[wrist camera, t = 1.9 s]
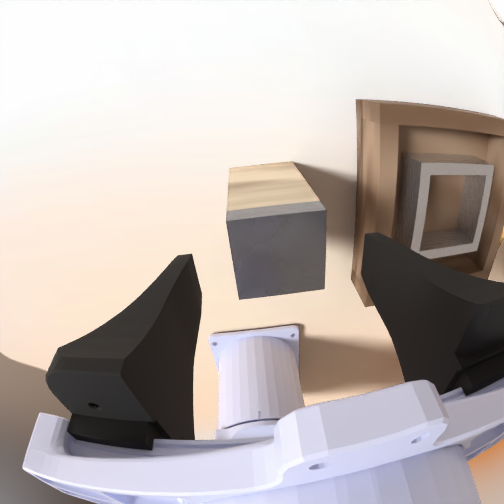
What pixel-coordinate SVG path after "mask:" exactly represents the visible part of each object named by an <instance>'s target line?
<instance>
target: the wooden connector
mask: <svg viewBox="0 0 504 504" xmlns="http://www.w3.org/2000/svg"><path fill="white" fill-rule="evenodd" d="M226 224H227V230H228V236H229V242H230V248H231V254H232V260H233V266H234V272H235V278H236V284H237V290H238V296H239V300H241V299H250V298H258V297H267V296H275V295H283V294H291V293H299V292H306V291H313V290H321V289H324V288H325V263H326V209H325V207H324V206H323V204H322V203H321V201H320V200H319V198H318V197H317V196H316V194H315V193H314V191H313V190H312V189H311V187H310V186H309V184H308V183H307V182H306V180H305V179H304V177H303V176H302V175H301V173H300V172H299V171H298V169H297V168H296V166H295V165H294V164H293V162H281V163H271V164H261V165H252V166H244V167H235V168H230V169H229V183H228V198H227V214H226Z"/></svg>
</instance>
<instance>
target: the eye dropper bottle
mask: <svg viewBox="0 0 504 504" xmlns="http://www.w3.org/2000/svg"><path fill="white" fill-rule="evenodd" d="M488 1H489V3H490V5H491V7H492V8H493V10H494V12H495V14H496V15H497V17H498V19H499V20H500V21H501V22H502V23H504V0H488Z"/></svg>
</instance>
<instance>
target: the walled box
mask: <svg viewBox="0 0 504 504" xmlns="http://www.w3.org/2000/svg"><path fill="white" fill-rule="evenodd" d="M356 112H357V200H356V222H355V238H354V251H353V263H352V274H351V280H352V282H353V284H354V286H355V288H356V290H357V292H358V294H359V296H360V298H361V300H362V302H363V304H364V306H365V307H368V306H374V303H373V301H372V300H371V298H370V296H369V294H368V292H367V289H366V287H365V284H364V281H363V279H362V276H361V266H362V257H363V247H364V236H365V234H366V233H375V232H378V233H381V234H383V235H385V236H387V237H389V238H391V239H393V240H395V241H397V242H398V243H400V244H402V245H404V246H406V247H407V248H409V249H411V250H413V251H415V252H417V253H419V254H421V255H422V256H424V257H426V258H428V259H430V260H432V261H435V262H437V263H439V264H441V265H444V266H446V267H449V268H451V269H453V270H456V271H459V272H462V273H465V274H468V275H471V276H475V277H478V278H482V279H486V280H487V279H488V277H489V274H490V271H491V268H492V265H493V262H494V259H495V256H496V252H497V249H498V246H499V242H500V239H501V235H502V231H503V227H504V119H502V118H499V117H496V116H493V115H489V114H484V113H479V112H474V111H468V110H463V109H457V108H451V107H444V106H436V105H429V104H420V103H410V102H398V101H384V100H361V99H356Z"/></svg>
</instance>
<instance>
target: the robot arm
mask: <svg viewBox="0 0 504 504" xmlns="http://www.w3.org/2000/svg"><path fill="white" fill-rule="evenodd" d="M361 276H362V279H363V281H364V284H365V287H366V289H367V292H368V294H369V296H370V298H371V300H372V301H373V303H374V305H375V307H376V309H377V311H378V313H379V314H380V316H381V318H382V320H383V322H384V324H385V326H386V328H387V330H388V332H389V334H390V336H391V338H392V341H393V344H394V347H395V350H396V352H397V355H398V358H399V362H400V365H401V368H402V372H403V375H404V379H405V383H403V384H399V385H396V386H392V387H389V388H385V389H381V390H377V391H373V392H369V393H365V394H361V395H357V396H352V397H347V398H343V399H338V400H333V401H327V402H322V403H317V404H313V405H310V406H306V407H305V405H304V400H303V395H302V389H301V384H300V379H299V328H298V326H296V325H290V326H282V327H274V328H266V329H257V330H248V331H238V332H228V333H217V334H211V335H209V339H208V340H209V344H210V347H211V350H212V353H213V357H214V360H215V363H216V366H217V369H218V372H219V396H218V429H216V430H215V440H195V435H194V417H193V366H194V356H195V350H196V344H197V337H198V331H199V325H200V319H201V307H202V292H201V288H200V284H199V281H198V277H197V273H196V269H195V265H194V261H193V256H192V254H186V255H178V256H177V257H176V258H175V259H174V260H173V261H172V262H171V263H170V264H169V265H168V266H167V268H166V269H165V270H164V271H163V272H162V273H161V274H160V275H159V277H158V278H157V279H156V280H155V281H154V282H153V283H152V284H151V285H150V286H149V287H148V288H147V289H146V290H145V291H144V292H143V293H142V294H141V295H140V296H139V297H138V298H137V299H136V300H135V301H134V302H133V303H131V304H130V305H129V306H128V307H127V308H125V309H124V310H123V311H122V312H120V313H119V314H118V315H116V316H115V317H113V318H112V319H111V320H109V321H108V322H106V323H105V324H103V325H102V326H100V327H99V328H97V329H95V330H94V331H92V332H90V333H88V334H87V335H85V336H83V337H81V338H79V339H77V340H75V341H73V342H70V343H68V344H66V345H64V346H62V347H59V348H58V349H57V352H56V354H55V356H54V358H53V360H52V362H51V365H50V367H49V369H48V371H47V374H46V382H47V384H48V387H49V389H50V390H51V391H52V393H53V394H54V395H55V396H56V397H57V398H58V399H59V400H60V401H61V403H62V404H63V405H64V406H65V407H66V408H67V409H68V410H69V411H70V412H71V413H72V416H71V419H70V421H69V420H67V419H65V418H63V417H60V416H54V415H50V414H46V413H39V416H38V419H37V422H36V424H35V427H34V430H33V433H32V436H31V439H30V443H29V446H28V449H27V452H26V456H25V459H24V463H23V469H24V470H25V471H27V472H28V473H30V474H32V475H33V476H35V477H37V478H38V479H40V480H42V481H43V482H45V483H47V484H49V485H50V486H52V487H54V488H56V489H58V490H60V491H62V492H63V493H66V494H69V495H72V496H75V497H78V498H81V499H85V500H88V501H91V502H95V503H98V504H481V501H480V498H479V495H478V492H477V489H476V485H475V483H474V480H473V477H472V474H471V471H470V468H469V465H468V463H467V461H469V460H471V459H473V458H474V457H476V456H478V455H479V454H481V453H482V452H484V451H486V450H487V449H489V448H490V447H492V446H493V445H495V444H496V443H498V442H499V441H501V440H502V439H504V283H502V282H495V281H491V280H486V279H482V278H478V277H475V276H471V275H468V274H465V273H462V272H459V271H456V270H453V269H451V268H449V267H446V266H444V265H441V264H439V263H437V262H435V261H432V260H430V259H428V258H426V257H424V256H422V255H421V254H419V253H417V252H415V251H413V250H411V249H409V248H407V247H406V246H404V245H402V244H400V243H398V242H397V241H395V240H393V239H391V238H389V237H387V236H385V235H383V234H381V233H378V232H375V233H366V234H365V236H364V247H363V257H362V266H361ZM214 342H216V343H214Z"/></svg>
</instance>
